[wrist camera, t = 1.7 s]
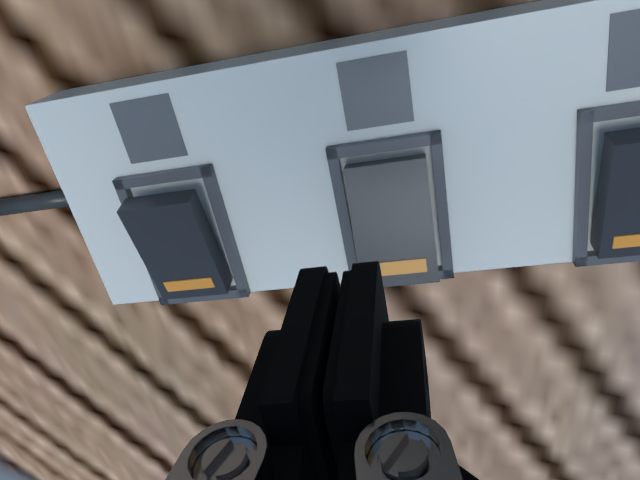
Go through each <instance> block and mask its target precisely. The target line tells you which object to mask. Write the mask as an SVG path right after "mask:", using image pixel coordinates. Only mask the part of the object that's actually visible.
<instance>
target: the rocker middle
mask: <svg viewBox="0 0 640 480" xmlns="http://www.w3.org/2000/svg"><path fill="white" fill-rule="evenodd" d="M343 172H344V179H345V185H346V192H347V198H348V205H349V211H350V218H351V224H352V231H353V237H354V244H355V250H356V257H357V263H362V262H372V261H379V264H380V269H381V275H382V281H383V287H389V286H400V285H411V284H422V283H433V282H440V281H439V272H438V263H437V253H436V244H435V234H434V225H433V216H432V206H431V197H430V187H429V178H428V169H427V159H426V154H419V155H411V156H404V157H397V158H390V159H383V160H376V161H368V162H361V163H354V164H347V165H345V167H344V169H343Z"/></svg>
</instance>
